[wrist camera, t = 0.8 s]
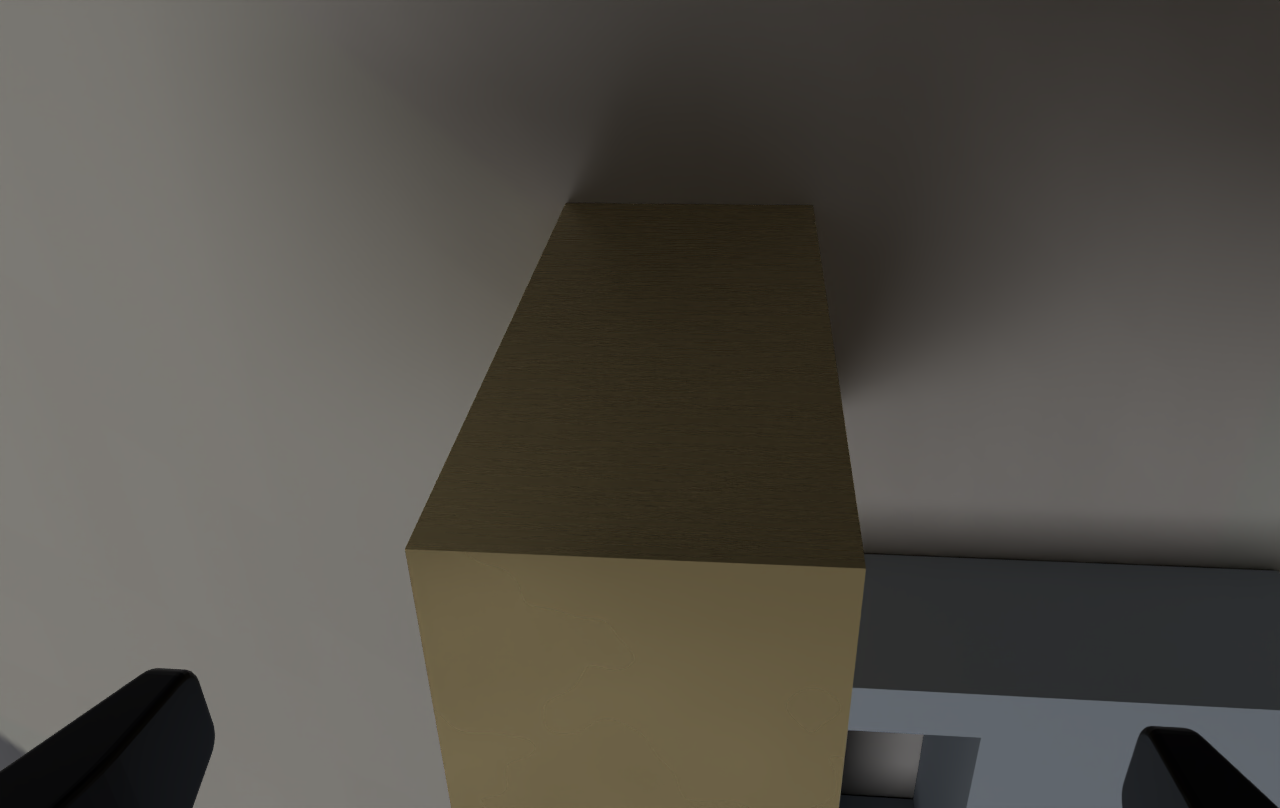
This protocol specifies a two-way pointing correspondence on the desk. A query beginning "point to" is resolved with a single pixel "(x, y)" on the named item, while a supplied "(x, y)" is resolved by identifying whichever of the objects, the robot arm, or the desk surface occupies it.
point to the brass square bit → (650, 527)
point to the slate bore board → (1062, 674)
